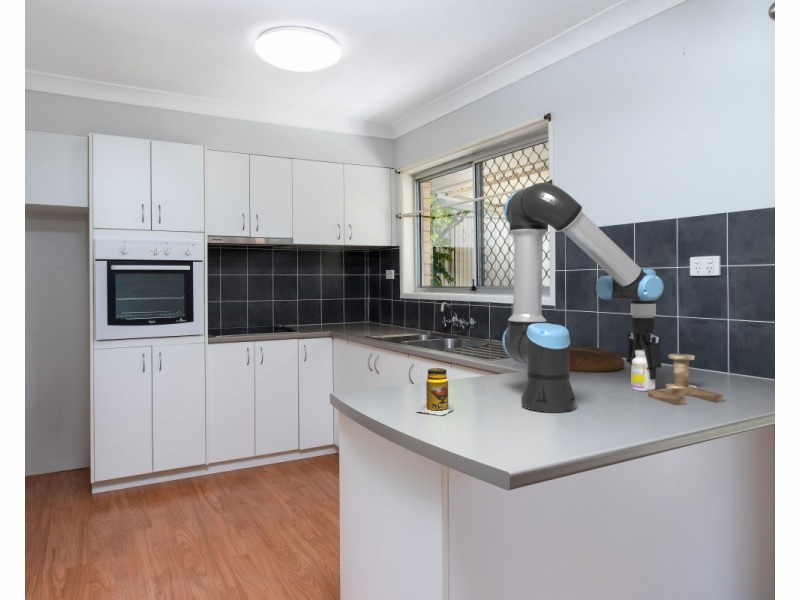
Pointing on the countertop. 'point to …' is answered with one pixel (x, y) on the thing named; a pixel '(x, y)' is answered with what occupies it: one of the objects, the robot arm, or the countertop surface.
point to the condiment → (437, 389)
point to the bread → (594, 360)
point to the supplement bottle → (639, 371)
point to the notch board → (676, 395)
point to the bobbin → (680, 371)
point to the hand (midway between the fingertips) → (642, 386)
